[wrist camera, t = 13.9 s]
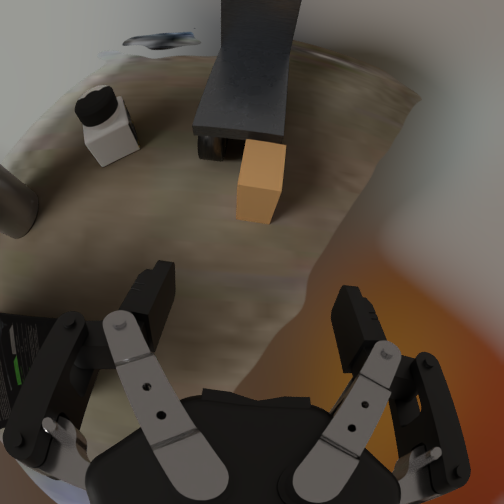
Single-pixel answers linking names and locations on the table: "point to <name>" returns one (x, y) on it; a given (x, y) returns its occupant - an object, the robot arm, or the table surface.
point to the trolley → (247, 76)
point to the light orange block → (260, 180)
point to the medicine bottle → (106, 125)
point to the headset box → (18, 355)
